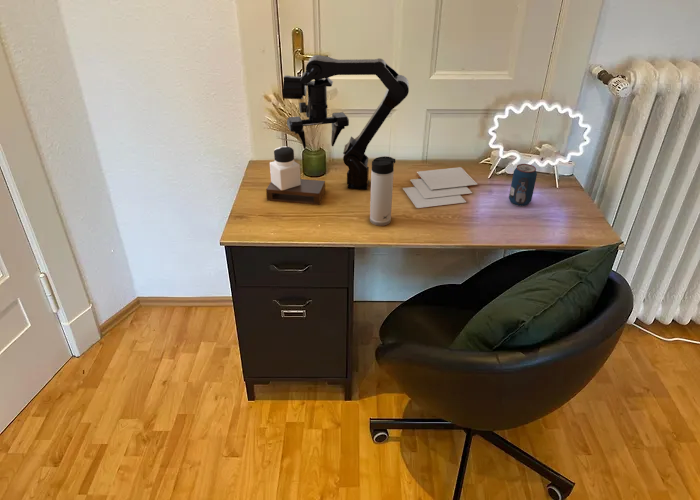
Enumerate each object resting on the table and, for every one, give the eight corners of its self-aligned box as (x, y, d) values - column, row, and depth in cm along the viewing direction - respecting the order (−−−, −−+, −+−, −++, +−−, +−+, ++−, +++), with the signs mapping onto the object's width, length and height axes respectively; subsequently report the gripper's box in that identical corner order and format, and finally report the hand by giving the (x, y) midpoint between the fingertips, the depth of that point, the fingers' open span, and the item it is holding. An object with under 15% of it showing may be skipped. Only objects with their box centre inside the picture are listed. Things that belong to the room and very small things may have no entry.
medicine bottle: (301, 185, 172) (299, 150, 165) (281, 191, 168) (278, 155, 162) (290, 177, 176) (288, 142, 170) (270, 182, 173) (267, 147, 166)
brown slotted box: (325, 191, 177) (325, 180, 174) (319, 205, 169) (319, 193, 167) (274, 187, 179) (274, 176, 177) (267, 200, 171) (266, 189, 169)
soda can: (523, 196, 175) (530, 161, 168) (534, 206, 169) (542, 171, 163) (504, 198, 174) (510, 164, 167) (514, 208, 168) (521, 173, 161)
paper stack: (490, 199, 173) (491, 197, 172) (416, 208, 168) (416, 206, 167) (460, 168, 192) (460, 167, 191) (393, 176, 186) (393, 174, 186)
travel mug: (390, 227, 158) (394, 164, 147) (368, 224, 159) (370, 162, 148) (393, 216, 163) (396, 155, 152) (371, 214, 164) (373, 153, 153)
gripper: (339, 89, 174) (339, 135, 183) (282, 94, 170) (285, 141, 178) (349, 100, 166) (349, 147, 174) (289, 105, 161) (292, 154, 170)
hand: (318, 147), depth 174 cm, fingers open, 9 cm apart
